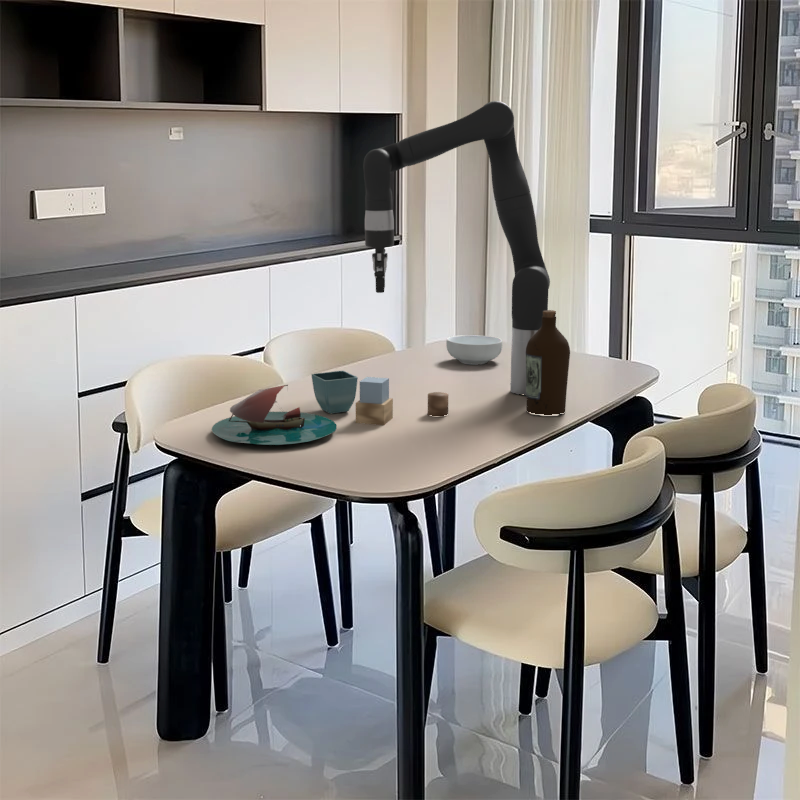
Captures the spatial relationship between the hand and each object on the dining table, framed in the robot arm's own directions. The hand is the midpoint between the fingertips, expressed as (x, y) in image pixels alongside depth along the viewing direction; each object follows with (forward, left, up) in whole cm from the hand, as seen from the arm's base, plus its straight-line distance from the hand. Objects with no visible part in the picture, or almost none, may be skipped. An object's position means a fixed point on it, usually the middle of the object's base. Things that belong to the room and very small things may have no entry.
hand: (380, 290), depth 288 cm
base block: (-9, +34, -26) cm, 44 cm away
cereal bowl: (-17, -41, -27) cm, 52 cm away
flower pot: (+3, +28, -26) cm, 38 cm away
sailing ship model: (+9, +52, -27) cm, 59 cm away
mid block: (-9, +34, -21) cm, 41 cm away
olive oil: (-46, +14, -26) cm, 55 cm away
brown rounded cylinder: (-22, +24, -26) cm, 41 cm away
